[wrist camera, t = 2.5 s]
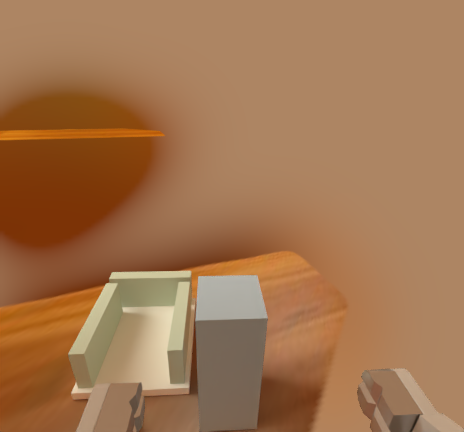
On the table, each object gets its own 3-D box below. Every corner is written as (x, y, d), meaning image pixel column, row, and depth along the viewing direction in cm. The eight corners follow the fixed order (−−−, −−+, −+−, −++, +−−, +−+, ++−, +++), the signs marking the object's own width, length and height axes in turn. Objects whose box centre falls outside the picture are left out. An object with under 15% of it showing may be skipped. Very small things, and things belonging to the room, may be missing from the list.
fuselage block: (199, 432, 27) (195, 320, 21) (201, 378, 32) (198, 276, 26) (256, 428, 27) (267, 318, 21) (249, 376, 32) (257, 275, 26)
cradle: (72, 399, 29) (60, 359, 27) (114, 305, 42) (108, 272, 40) (189, 394, 30) (186, 354, 28) (195, 303, 43) (194, 270, 40)
